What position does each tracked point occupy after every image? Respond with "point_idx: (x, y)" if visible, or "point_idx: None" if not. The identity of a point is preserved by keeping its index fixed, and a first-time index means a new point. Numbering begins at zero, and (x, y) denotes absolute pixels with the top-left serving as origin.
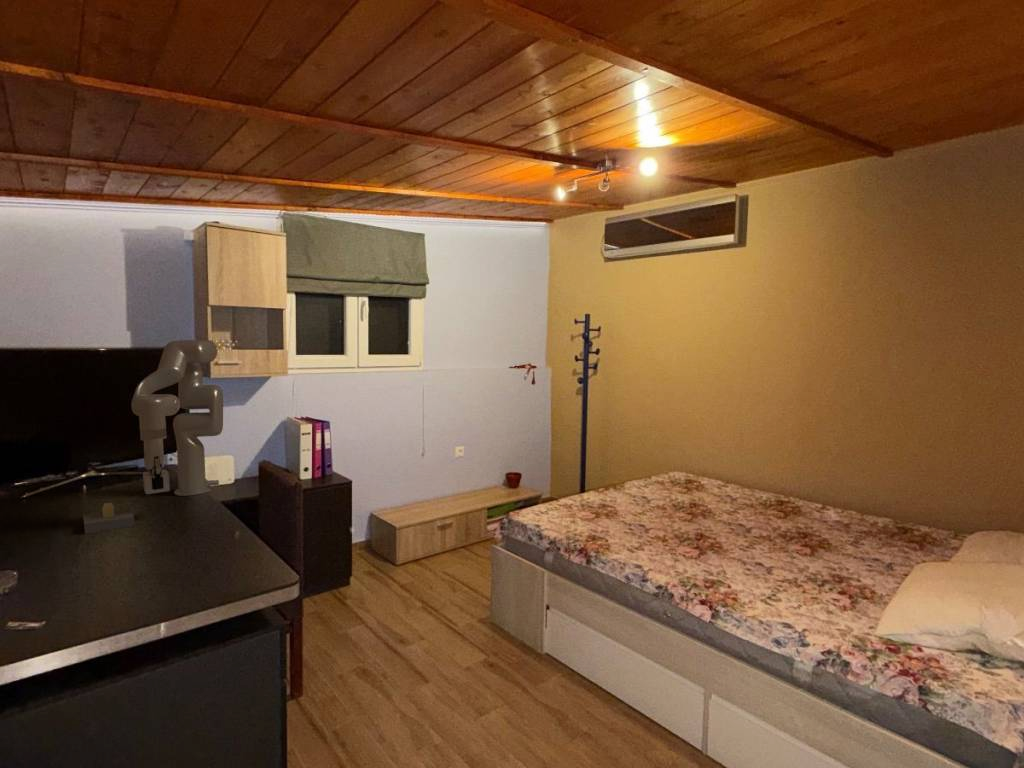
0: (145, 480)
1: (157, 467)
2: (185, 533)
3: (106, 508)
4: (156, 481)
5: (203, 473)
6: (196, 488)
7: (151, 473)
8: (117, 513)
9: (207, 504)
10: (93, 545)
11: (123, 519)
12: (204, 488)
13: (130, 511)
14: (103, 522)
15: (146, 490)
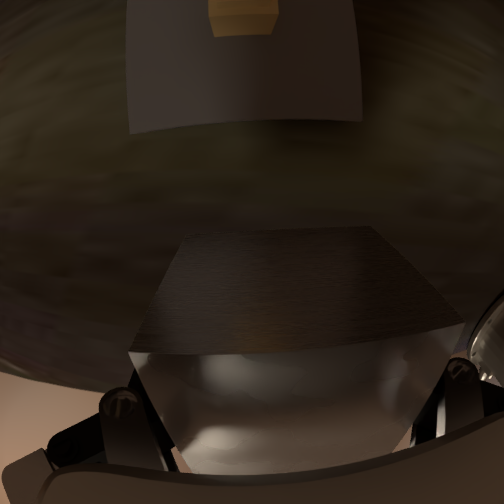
0: (149, 311)
1: (11, 490)
2: (16, 291)
3: None
4: (138, 377)
5: (501, 385)
6: (484, 347)
7: (302, 415)
8: (275, 51)
9: None
10: (2, 52)
11: (128, 86)
12: (480, 357)
13: (282, 113)
14: (127, 10)
15: (181, 252)
